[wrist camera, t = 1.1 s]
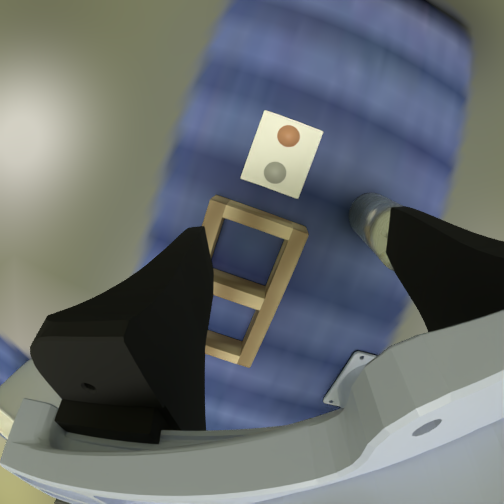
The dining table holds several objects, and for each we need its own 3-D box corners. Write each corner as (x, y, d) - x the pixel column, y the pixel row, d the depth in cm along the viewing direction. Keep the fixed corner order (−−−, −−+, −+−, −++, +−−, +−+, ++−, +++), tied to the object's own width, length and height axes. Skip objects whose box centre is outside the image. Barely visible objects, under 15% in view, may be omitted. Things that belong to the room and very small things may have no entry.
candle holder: (68, 411, 38) (35, 461, 27) (22, 375, 37) (-15, 419, 25) (78, 383, 35) (38, 441, 24) (26, 341, 34) (-21, 389, 22)
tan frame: (305, 226, 26) (308, 234, 24) (251, 352, 30) (249, 367, 28) (216, 194, 26) (210, 199, 23) (177, 327, 30) (170, 340, 28)
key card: (322, 131, 23) (323, 131, 23) (297, 198, 25) (298, 199, 25) (264, 110, 23) (264, 109, 23) (240, 177, 25) (240, 178, 25)
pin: (397, 203, 25) (441, 225, 17) (380, 243, 26) (416, 279, 18) (359, 185, 24) (393, 201, 17) (341, 228, 26) (367, 260, 18)
